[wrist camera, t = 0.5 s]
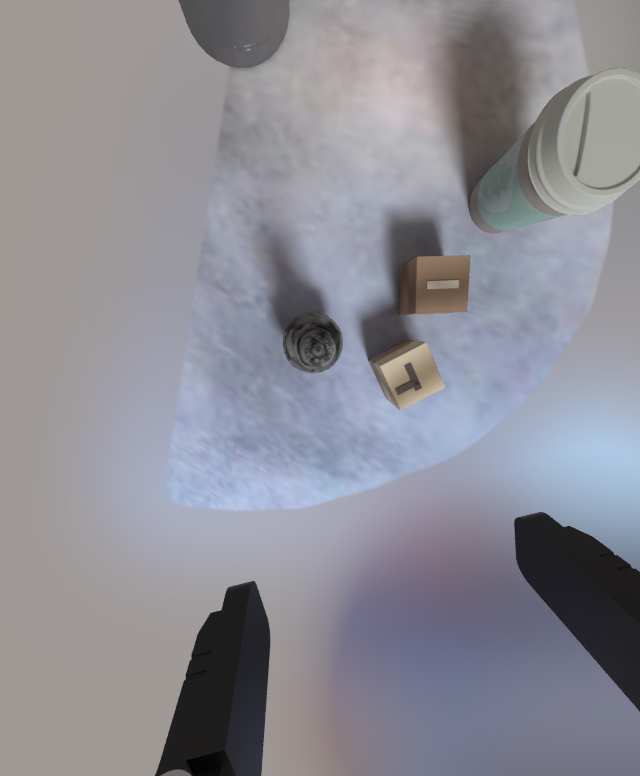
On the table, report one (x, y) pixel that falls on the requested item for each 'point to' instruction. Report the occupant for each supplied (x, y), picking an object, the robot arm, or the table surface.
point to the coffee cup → (566, 156)
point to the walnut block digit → (434, 285)
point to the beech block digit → (407, 373)
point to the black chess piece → (312, 342)
